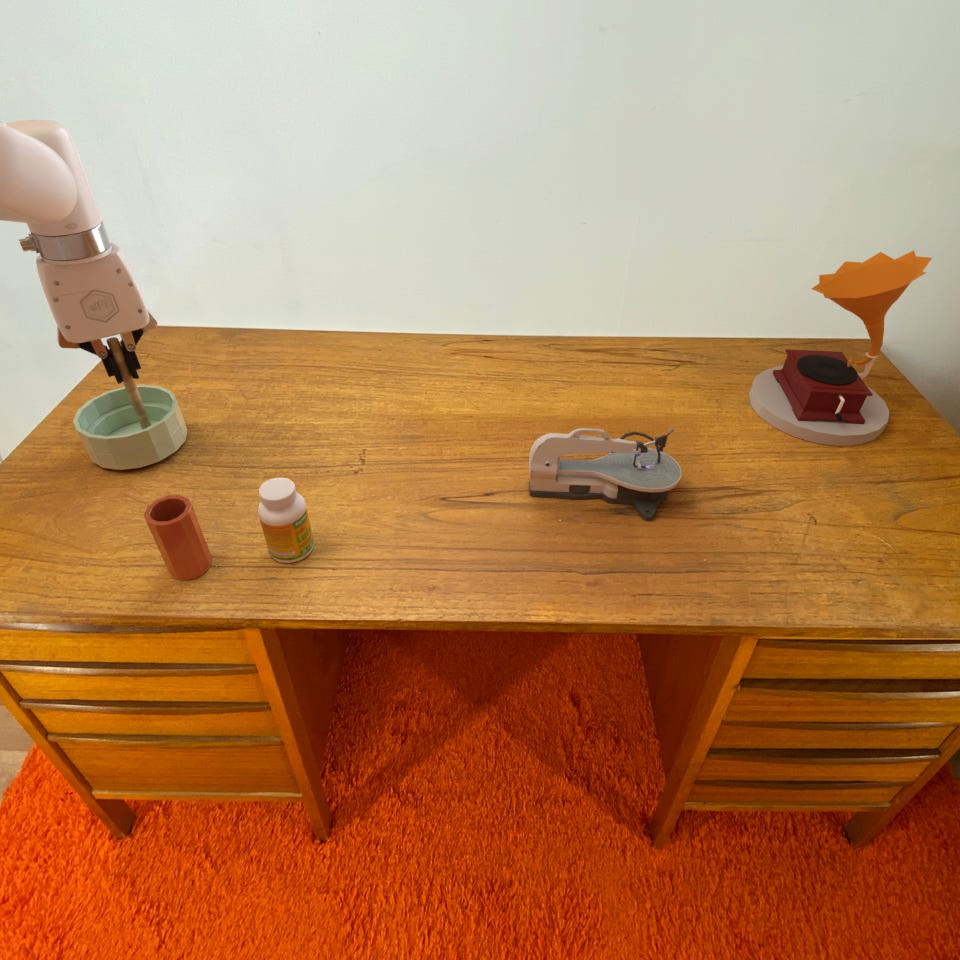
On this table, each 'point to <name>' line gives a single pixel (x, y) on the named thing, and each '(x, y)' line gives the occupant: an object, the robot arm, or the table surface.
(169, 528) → the utensil pot
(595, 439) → the jigsaw machine
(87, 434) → the bowl
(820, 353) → the gramophone
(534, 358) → the table surface
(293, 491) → the supplement bottle
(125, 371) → the stick
